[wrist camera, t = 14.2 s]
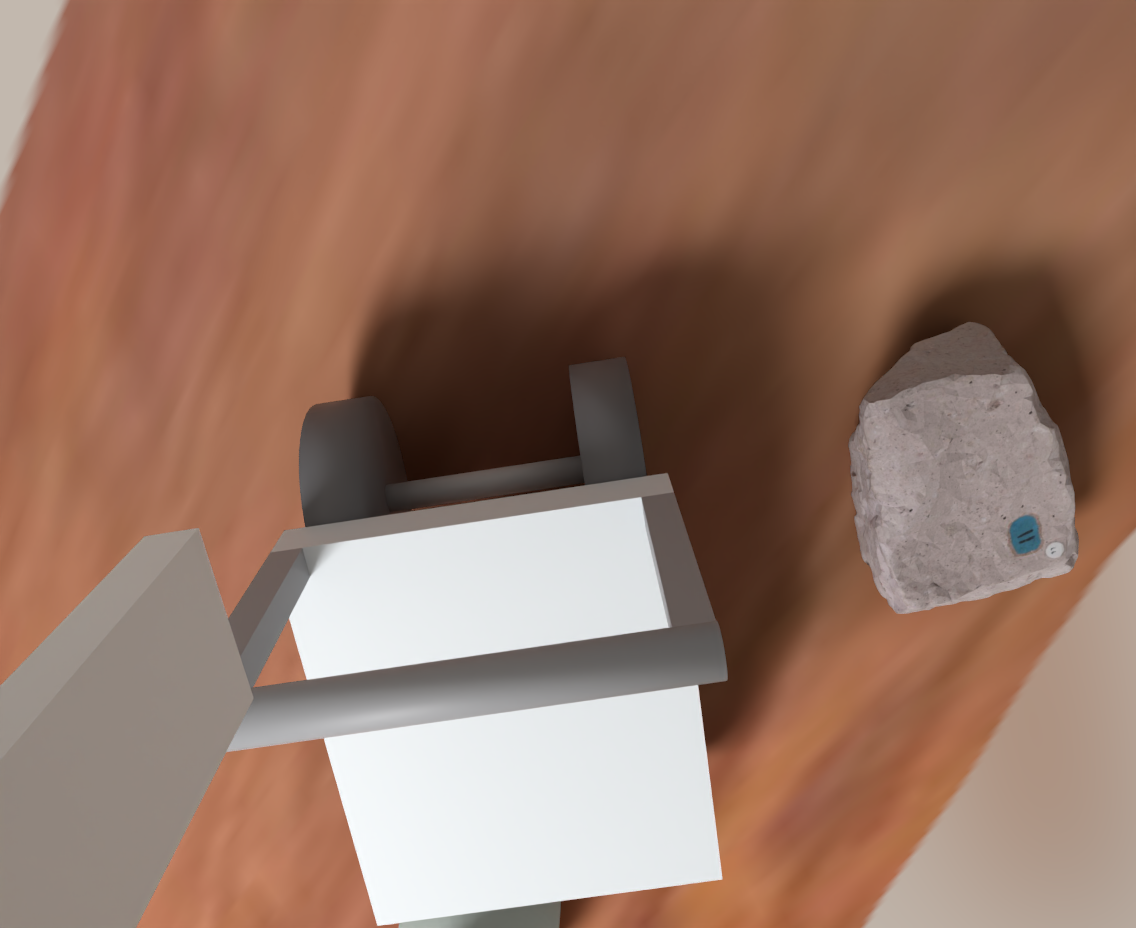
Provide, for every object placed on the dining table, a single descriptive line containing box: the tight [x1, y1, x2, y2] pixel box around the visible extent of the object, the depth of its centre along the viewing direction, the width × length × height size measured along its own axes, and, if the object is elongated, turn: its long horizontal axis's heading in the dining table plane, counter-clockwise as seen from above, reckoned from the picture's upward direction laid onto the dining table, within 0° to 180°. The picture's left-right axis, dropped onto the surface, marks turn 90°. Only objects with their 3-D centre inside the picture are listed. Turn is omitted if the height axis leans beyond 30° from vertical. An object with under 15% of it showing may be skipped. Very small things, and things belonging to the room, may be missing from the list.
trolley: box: [226, 357, 728, 926], centre depth 38 cm, size 15×25×22 cm, turn 9°
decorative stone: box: [848, 322, 1079, 614], centre depth 44 cm, size 13×10×6 cm
